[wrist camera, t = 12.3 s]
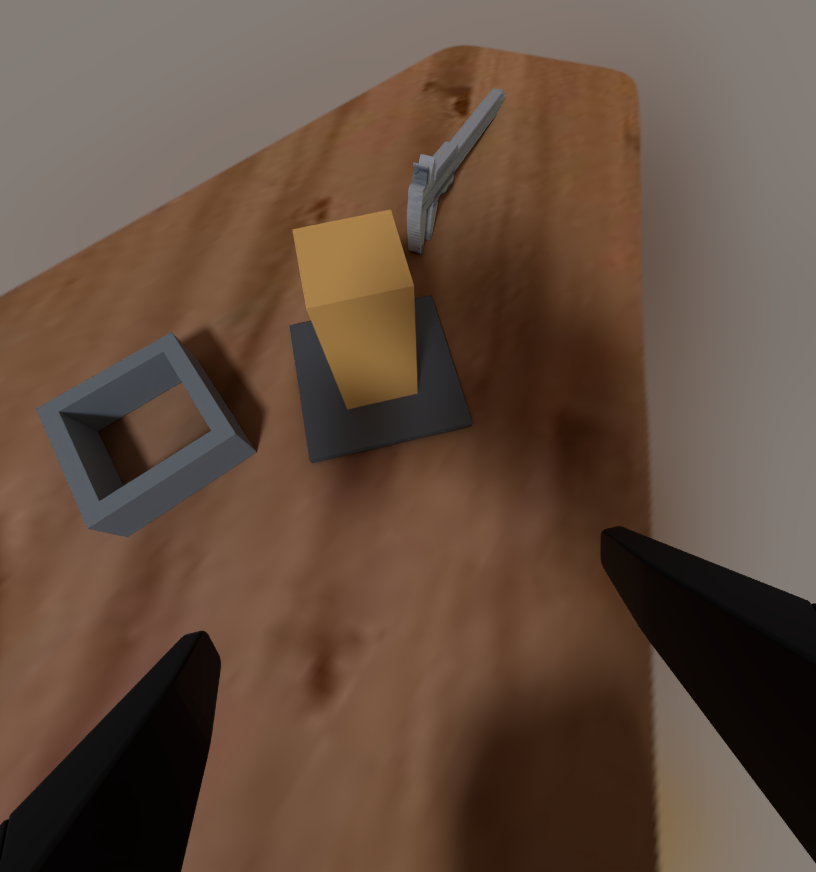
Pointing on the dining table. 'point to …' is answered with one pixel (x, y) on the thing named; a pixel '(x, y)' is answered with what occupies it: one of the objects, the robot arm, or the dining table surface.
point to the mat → (384, 421)
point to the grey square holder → (114, 398)
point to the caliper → (444, 171)
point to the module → (361, 305)
